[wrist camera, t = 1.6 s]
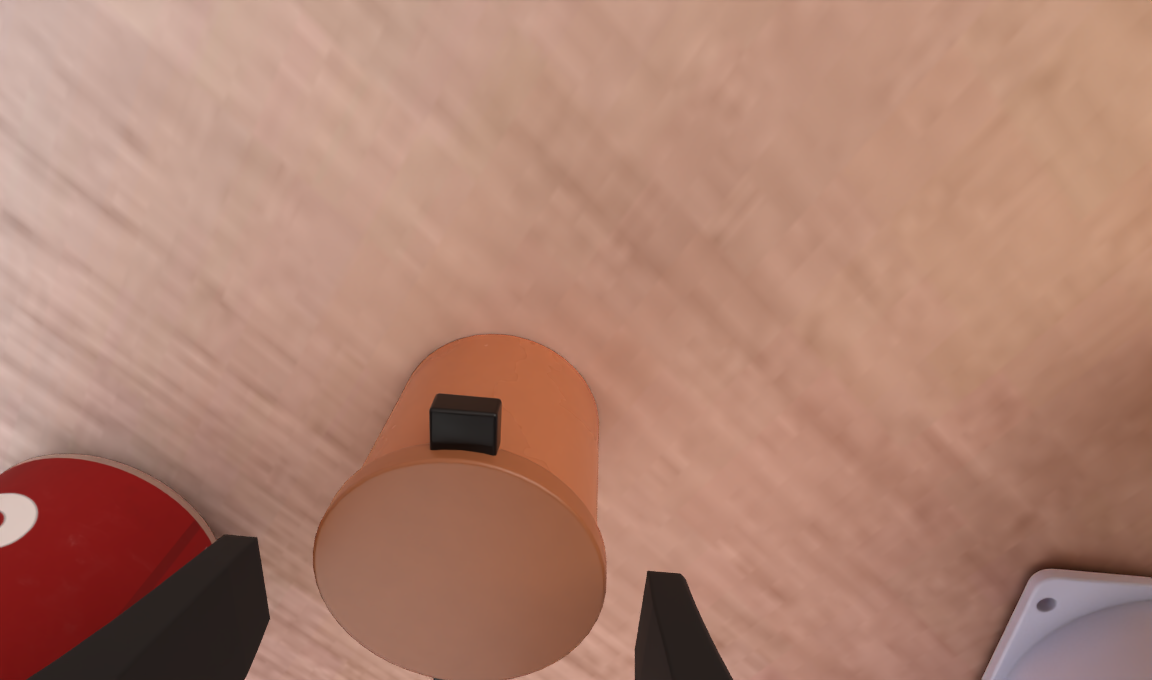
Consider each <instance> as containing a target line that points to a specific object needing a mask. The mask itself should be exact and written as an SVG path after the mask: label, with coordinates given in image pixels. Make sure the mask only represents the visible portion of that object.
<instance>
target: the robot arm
mask: <svg viewBox="0 0 1152 680" xmlns="http://www.w3.org/2000/svg"><path fill="white" fill-rule="evenodd" d="M1042 599H1043V600H1042ZM269 620H270V615H269V609H268V603H267V596H266V590H265V584H264V577H263V571H262V565H261V558H260V552H259V545H258V539H257V537H246V536H234V535H223V536H222V537H221V538H219V539H218V540H217V541H215V542H214V543H213V544H211V545H210V546H209V547H207V548H206V549H205V550H204V551H202V552H201V553H200V554H198V555H197V556H196V557H195V558H193V559H192V560H191V561H189V562H188V563H187V564H186V565H184V566H183V567H182V568H180V569H179V570H178V571H177V572H175V573H174V574H173V575H171V576H170V577H169V578H168V579H166V580H165V581H164V582H162V583H161V584H160V585H159V586H157V587H156V588H155V589H153V590H152V591H151V592H149V593H148V594H147V595H146V596H144V597H143V598H142V599H140V600H139V601H138V602H136V603H135V604H134V605H132V606H131V607H130V608H128V609H127V610H126V611H124V612H123V613H122V614H120V615H119V616H118V617H116V618H115V619H114V620H112V621H111V622H109V623H108V624H107V625H105V626H104V627H102V628H101V629H99V630H98V631H97V632H95V633H94V634H92V635H91V636H89V637H88V638H87V639H85V640H84V641H82V642H81V643H80V644H78V645H77V646H75V647H74V648H72V649H71V650H70V651H68V652H67V653H65V654H64V655H62V656H61V657H60V658H58V659H57V660H55V661H54V662H52V663H51V664H49V665H48V666H46V667H45V668H43V669H42V670H40V671H39V672H37V673H35V674H34V675H32V676H31V677H29V678H28V679H26V680H244V679H245V677H246V676H247V674H248V671H249V669H250V667H251V664H252V662H253V660H254V657H255V655H256V653H257V650H258V648H259V645H260V643H261V640H262V638H263V635H264V632H265V630H266V627H267V625H268V622H269ZM635 680H733V679H732V677H731V675H730V673H729V671H728V669H727V667H726V666H725V664H724V662H723V660H722V658H721V656H720V654H719V653H718V651H717V649H716V647H715V645H714V643H713V641H712V639H711V637H710V635H709V633H708V630H707V628H706V626H705V624H704V622H703V620H702V618H701V616H700V613H699V611H698V609H697V607H696V604H695V602H694V600H693V597H692V595H691V592H690V590H689V587H688V584H687V582H686V579H685V578H684V577H683V576H682V575H681V574H678V573H666V572H654V571H647V577H646V584H645V590H644V596H643V602H642V609H641V615H640V621H639V627H638V633H637V640H636V646H635ZM981 680H1152V577H1142V576H1131V575H1120V574H1108V573H1097V572H1086V571H1074V570H1063V569H1043V570H1040V571H1038V572H1036V573H1035V574H1033V575H1032V576H1031V578H1030V579H1029V580H1028V582H1027V585H1026V587H1025V589H1024V591H1023V593H1022V595H1021V597H1020V599H1019V601H1018V603H1017V605H1016V608H1015V610H1014V612H1013V614H1012V616H1011V618H1010V620H1009V622H1008V624H1007V626H1006V629H1005V631H1004V633H1003V635H1002V637H1001V639H1000V641H999V643H998V645H997V647H996V649H995V652H994V654H993V656H992V658H991V660H990V662H989V664H988V666H987V668H986V670H985V672H984V675H983V677H982V679H981Z"/></svg>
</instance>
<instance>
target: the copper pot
mask: <svg viewBox="0 0 1152 680" xmlns="http://www.w3.org/2000/svg"><path fill="white" fill-rule="evenodd" d="M598 443H599V418H598V411H597V407H596V403H595V400H594V398H593V395H592V393H591V391H590V389H589V387H588V385H587V384H586V382H585V381H584V379H583V378H582V376H581V375H580V374H579V373H578V372H577V370H576V369H575V368H574V367H573V366H572V365H571V364H569V363H568V362H567V361H566V360H565V359H564V358H562V357H561V356H560V355H558V354H557V353H555V352H554V351H552V350H550V349H548V348H547V347H545V346H543V345H541V344H538V343H536V342H533V341H531V340H527V339H523V338H520V337H516V336H509V335H499V334H486V335H476V336H471V337H466V338H462V339H459V340H456V341H454V342H451V343H449V344H447V345H445V346H443V347H441V348H439V349H437V350H436V351H435V352H433V353H432V354H430V355H429V356H428V357H427V358H426V359H425V360H424V361H422V362H421V363H420V364H419V366H418V367H417V368H416V370H415V371H414V372H413V373H412V375H411V377H410V379H409V381H408V382H407V384H406V386H405V388H404V390H403V392H402V394H401V395H400V397H399V399H398V401H397V403H396V405H395V407H394V409H393V410H392V412H391V414H390V416H389V418H388V420H387V422H386V424H385V425H384V427H383V429H382V431H381V433H380V435H379V437H378V439H377V440H376V442H375V444H374V446H373V448H372V450H371V452H370V454H369V455H368V457H367V459H366V461H365V463H364V465H363V467H362V468H361V469H360V470H358V471H357V472H356V473H355V474H354V475H353V476H352V477H351V478H349V479H348V480H347V481H346V482H345V483H344V485H343V486H342V487H341V488H340V490H339V491H338V492H337V493H336V495H335V497H334V498H333V500H332V502H331V504H330V506H329V507H328V509H327V511H326V513H325V515H324V516H323V518H322V520H321V522H320V524H319V527H318V530H317V533H316V536H315V541H314V548H313V568H314V573H315V578H316V583H317V586H318V589H319V591H320V594H321V597H322V599H323V600H324V602H325V604H326V606H327V608H328V610H329V611H330V612H331V614H332V615H333V616H334V618H335V619H336V621H337V622H338V623H339V624H340V625H341V626H342V627H343V629H344V630H345V631H346V632H347V633H348V634H349V635H350V636H351V637H353V638H354V639H355V640H356V641H357V642H359V643H360V644H361V645H362V646H364V647H365V648H367V649H368V650H370V651H371V652H372V653H374V654H375V655H377V656H379V657H381V658H383V659H384V660H386V661H388V662H390V663H392V664H394V665H397V666H399V667H401V668H404V669H406V670H409V671H412V672H415V673H418V674H421V675H425V676H429V677H434V680H507V679H512V678H516V677H520V676H524V675H527V674H530V673H533V672H536V671H538V670H541V669H543V668H545V667H547V666H549V665H551V664H553V663H555V662H557V661H558V660H560V659H561V658H563V657H564V656H566V655H567V654H569V653H570V652H571V651H572V650H573V649H574V648H576V647H577V646H578V645H579V644H580V643H581V642H582V641H583V639H584V638H585V637H586V636H587V635H588V634H589V632H590V630H591V629H592V627H593V626H594V624H595V622H596V621H597V619H598V616H599V614H600V612H601V609H602V607H603V603H604V598H605V593H606V553H605V546H604V542H603V539H602V536H601V533H600V530H599V528H598V526H597V493H598Z"/></svg>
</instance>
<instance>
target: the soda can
mask: <svg viewBox="0 0 1152 680" xmlns="http://www.w3.org/2000/svg"><path fill="white" fill-rule="evenodd" d="M215 541H217V540H216V538H215V537H214V535H213V533H212V531H211V530H210V528H209V527H208V525H207V524H206V522H205V521H204V520H203V518H202V517H201V516H200V515H199V513H198V512H197V511H196V510H195V509H194V508H193V507H192V506H191V505H190V504H189V503H188V502H187V501H186V500H185V499H184V498H182V497H181V496H180V495H179V494H177V493H176V492H175V491H174V490H172V489H171V488H169V487H168V486H166V485H165V484H164V483H162V482H160V481H159V480H157V479H155V478H154V477H152V476H150V475H148V474H146V473H144V472H142V471H140V470H138V469H135V468H133V467H130V466H128V465H125V464H122V463H119V462H116V461H113V460H109V459H105V458H101V457H96V456H90V455H82V454H51V455H45V456H39V457H35V458H31V459H28V460H26V461H23V462H21V463H18V464H16V465H14V466H12V467H11V468H9V469H8V470H6V471H5V472H3V473H2V474H1V475H0V680H26V679H28V678H29V677H31V676H32V675H34V674H35V673H37V672H39V671H40V670H42V669H43V668H45V667H46V666H48V665H49V664H51V663H52V662H54V661H55V660H57V659H58V658H60V657H61V656H62V655H64V654H65V653H67V652H68V651H70V650H71V649H72V648H74V647H75V646H77V645H78V644H80V643H81V642H82V641H84V640H85V639H87V638H88V637H89V636H91V635H92V634H94V633H95V632H97V631H98V630H99V629H101V628H102V627H104V626H105V625H107V624H108V623H109V622H111V621H112V620H114V619H115V618H116V617H118V616H119V615H120V614H122V613H123V612H124V611H126V610H127V609H128V608H130V607H131V606H132V605H134V604H135V603H136V602H138V601H139V600H140V599H142V598H143V597H144V596H146V595H147V594H148V593H149V592H151V591H152V590H153V589H155V588H156V587H157V586H159V585H160V584H161V583H162V582H164V581H165V580H166V579H168V578H169V577H170V576H171V575H173V574H174V573H175V572H177V571H178V570H179V569H180V568H182V567H183V566H184V565H186V564H187V563H188V562H189V561H191V560H192V559H193V558H195V557H196V556H197V555H198V554H200V553H201V552H202V551H204V550H205V549H206V548H207V547H209V546H210V545H211V544H213V543H214V542H215Z"/></svg>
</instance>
